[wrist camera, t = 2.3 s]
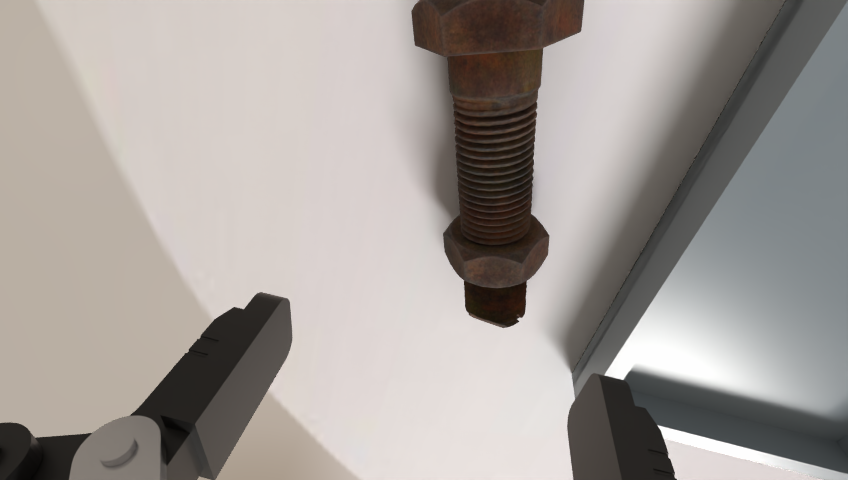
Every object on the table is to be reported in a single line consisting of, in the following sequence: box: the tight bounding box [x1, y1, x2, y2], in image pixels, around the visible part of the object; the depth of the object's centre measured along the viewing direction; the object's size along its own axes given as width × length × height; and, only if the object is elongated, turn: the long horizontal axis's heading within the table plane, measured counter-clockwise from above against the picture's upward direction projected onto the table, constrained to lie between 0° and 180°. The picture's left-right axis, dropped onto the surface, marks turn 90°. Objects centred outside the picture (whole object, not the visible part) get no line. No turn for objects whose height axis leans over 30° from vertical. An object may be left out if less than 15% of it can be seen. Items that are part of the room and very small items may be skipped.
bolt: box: [412, 0, 584, 328], centre depth 18 cm, size 6×5×15 cm
